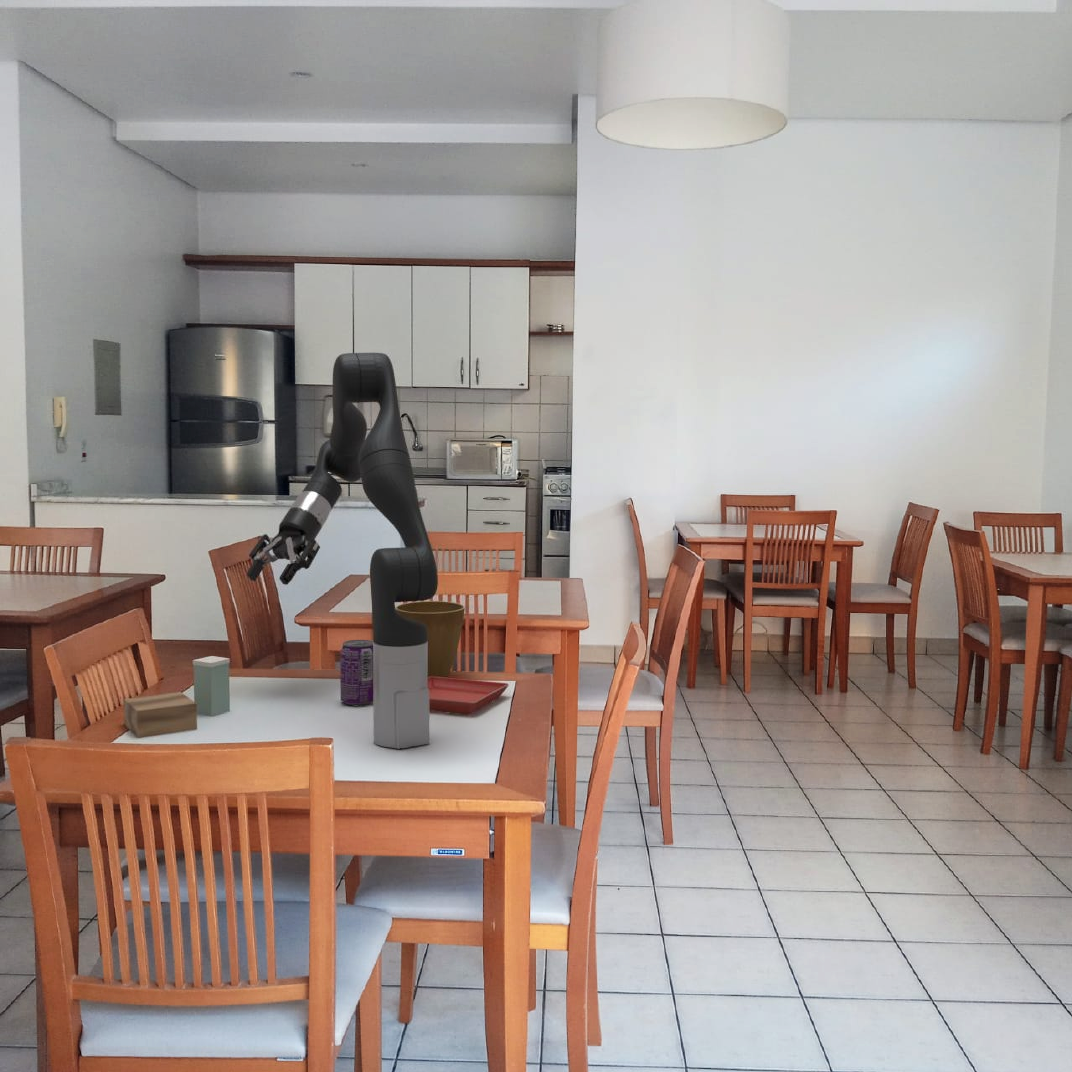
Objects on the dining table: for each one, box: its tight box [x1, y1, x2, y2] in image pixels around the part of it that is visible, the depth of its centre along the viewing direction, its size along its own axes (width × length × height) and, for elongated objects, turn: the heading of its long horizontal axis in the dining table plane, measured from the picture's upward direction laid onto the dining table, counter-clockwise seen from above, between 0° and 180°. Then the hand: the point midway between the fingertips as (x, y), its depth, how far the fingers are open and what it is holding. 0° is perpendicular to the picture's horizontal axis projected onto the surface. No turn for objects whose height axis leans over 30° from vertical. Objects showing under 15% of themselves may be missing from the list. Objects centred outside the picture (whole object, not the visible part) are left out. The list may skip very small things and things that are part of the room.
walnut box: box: [123, 691, 198, 739], centre depth 184 cm, size 10×10×5 cm
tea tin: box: [192, 655, 231, 717], centre depth 194 cm, size 5×5×10 cm
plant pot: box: [395, 600, 466, 678], centre depth 223 cm, size 15×15×16 cm
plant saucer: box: [428, 677, 510, 716], centre depth 203 cm, size 18×18×3 cm
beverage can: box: [339, 639, 373, 707], centre depth 202 cm, size 7×7×12 cm
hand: (266, 580), depth 202 cm, fingers open, 8 cm apart
